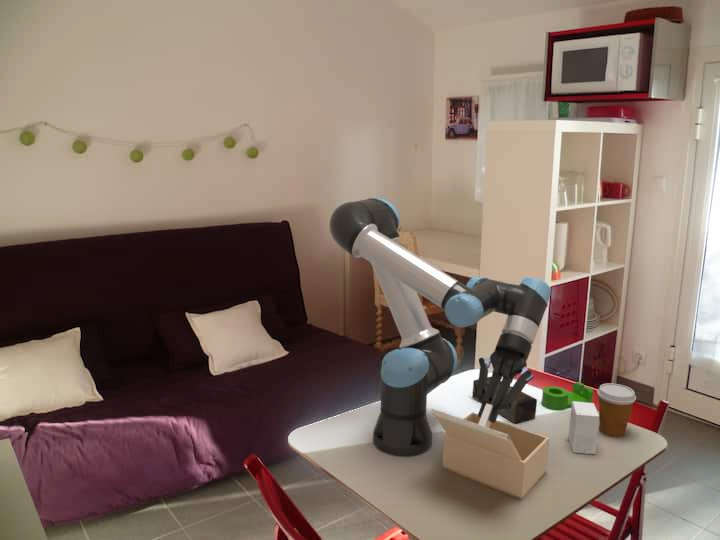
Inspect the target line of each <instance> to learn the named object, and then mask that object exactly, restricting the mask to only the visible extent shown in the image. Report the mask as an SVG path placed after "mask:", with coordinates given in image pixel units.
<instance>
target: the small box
mask: <svg viewBox="0 0 720 540" xmlns="http://www.w3.org/2000/svg"><path fill="white" fill-rule="evenodd" d="M599 427H600V423H599V411H598V410H597V408H596V405H595V403H594V402H592V403H587V402H577V401H572V406H571V408H570V418H569V430H568V440H569V443H570V447H571V450H572V453H577V454H578V453H579V454H587V455H596V453H597V445H598V444H597V443H598V435H599Z"/></svg>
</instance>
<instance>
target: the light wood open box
mask: <svg viewBox="0 0 720 540" xmlns="http://www.w3.org/2000/svg"><path fill="white" fill-rule="evenodd" d="M463 419H464V420H467V421H470V422H473V423H476V424H479V421H480V418H479V416H478V413H475V412H471V413H470V414H469V415H467V416H466V417H465V418H463ZM489 428H490V429H493V430H496V431H499V432H502V433H505V434H508V435H509V437H510V439H511V441H512V443H513V444H514V446H515V448H516V450H517V452H518V454H519V455H520V457H521V461H519V460H516V459H513V458H510V457H508V456H505V455H502V454H499V453H497V452H494V451H491V450H488V449H486V448H483V447H480V446H477V445H475V444H472V443H469V442H466V441H464V440H461V439H458V438H455V437H453V436H450V435H447V433H446V432H444V433H443V445H442V466H441V467H442V469H444V470H447V471H449V472H451V473H454V474H457V475H458V476H461V477H463V478H466V479H468V480H470V481H473V482H476V483H479V484H481V485H484V486H486V487H489V488H491V489H494V490H496V491H499V492H500V493H504V495H505V494H506V495H508V496H511V497H513V498H516V499H518V500H520V501H522V500H523V499H524V498H525V497H527V495H528V493H530V491H531V490H532V489H533V488H534V487H535V485H537V484H538V483H539V482H540V480H541V479H542V478H543V477H544V476H545V475H546V473H547V469H548V460H549V459H548V458H549V447H550V437H548V436H545V435H543V434H539V433H536V432H533V431H529V430H526V429H524V428H521V427H518V426H515V425H512V424H509V423H505V422H503V421H499V420H497V419H496V422H495V423H493V422H491V424H490V426H489Z"/></svg>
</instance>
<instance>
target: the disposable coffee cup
mask: <svg viewBox="0 0 720 540" xmlns="http://www.w3.org/2000/svg"><path fill="white" fill-rule="evenodd" d="M596 392H597V395H598V414H599V431H600V432H601V433H602V434H604V435H606V436H609V437H614V438H618V437H619V438H621V437H624V436H625V434H626V432H627V431H626V430H627V426H628V423H629V421H630V420H629V419H630V416H631V412H632V408H633V405H634V403H635V401H636V400H637V396H636V394H635V393H636V392H635V391H634V390H633V388H631V387H629V386H627V385H623V384H619V383H611V382H610V383H603V384H600V385H599V387H598V389H597V391H596Z"/></svg>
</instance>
